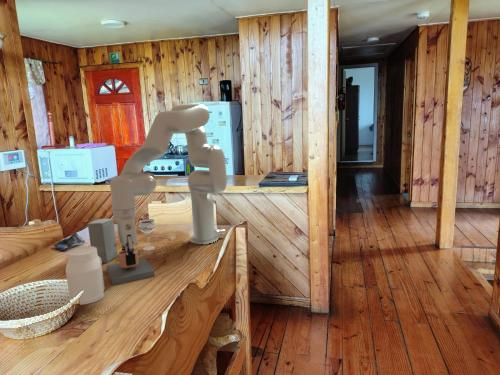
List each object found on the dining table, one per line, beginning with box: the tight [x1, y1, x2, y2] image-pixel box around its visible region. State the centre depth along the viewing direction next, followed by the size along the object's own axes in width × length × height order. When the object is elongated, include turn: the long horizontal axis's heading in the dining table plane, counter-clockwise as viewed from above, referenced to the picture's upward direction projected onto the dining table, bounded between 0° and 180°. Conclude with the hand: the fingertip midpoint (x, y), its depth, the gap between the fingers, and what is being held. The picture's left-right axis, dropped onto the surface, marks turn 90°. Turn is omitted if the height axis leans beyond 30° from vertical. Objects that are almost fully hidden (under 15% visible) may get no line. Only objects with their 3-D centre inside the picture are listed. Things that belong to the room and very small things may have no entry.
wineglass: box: [138, 218, 156, 251], centre depth 160 cm, size 7×7×12 cm
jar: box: [65, 245, 105, 306], centre depth 118 cm, size 12×10×15 cm
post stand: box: [106, 257, 155, 286], centre depth 135 cm, size 14×14×7 cm
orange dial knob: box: [118, 248, 140, 268], centre depth 134 cm, size 6×6×5 cm
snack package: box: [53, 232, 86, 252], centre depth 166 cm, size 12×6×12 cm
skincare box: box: [87, 218, 119, 264], centre depth 149 cm, size 8×7×16 cm
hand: (129, 261), depth 135 cm, fingers closed on orange dial knob, 6 cm apart
